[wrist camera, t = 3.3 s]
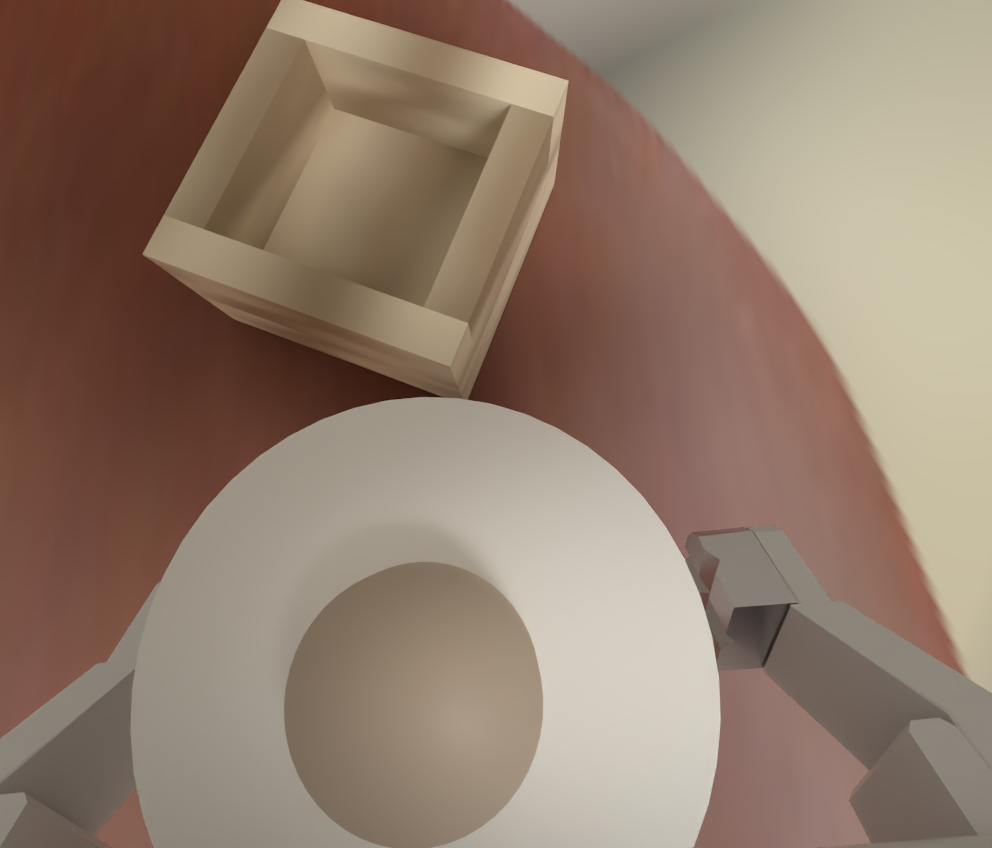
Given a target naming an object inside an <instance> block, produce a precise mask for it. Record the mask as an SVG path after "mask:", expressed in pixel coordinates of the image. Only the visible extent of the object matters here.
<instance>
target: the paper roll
mask: <svg viewBox="0 0 992 848" xmlns="http://www.w3.org/2000/svg"><path fill="white" fill-rule="evenodd" d="M720 721H721V718H720V693H719V675H718V669H717V663H716V657H715V651H714V644H713V638H712V634H711V630H710V627H709V624H708V620H707V617H706V613H705V610H704V606H703V603H702V599H701V596H700V594H699V592H698V589H697V587H696V585H695V582H694V580H693V578H692V575H691V573H690V571H689V568H688V566H687V564H686V561H685V559H684V558H683V556H682V554H681V552H680V551H679V549H678V547H677V546H676V544H675V542H674V540H673V539H672V537H671V535H670V533H669V532H668V530H667V528H666V527H665V525H664V524H663V523H662V521H661V520H660V519H659V517H658V516H657V515H656V513H655V512H654V511H653V509H652V508H651V507H650V505H649V504H648V503H647V502H646V500H645V499H644V498H643V496H642V495H641V494H640V493H639V492H638V491H637V490H636V489H635V488H634V487H633V486H632V485H631V484H630V483H629V482H628V481H627V480H626V479H625V478H624V477H623V476H622V475H621V474H620V473H619V472H618V471H617V470H616V469H615V468H614V467H613V466H611V465H610V464H609V463H608V462H606V461H605V460H604V459H603V458H601V457H600V456H599V455H598V454H596V453H595V452H594V451H593V450H591V449H590V448H589V447H587V446H586V445H584V444H583V443H581V442H579V441H578V440H576V439H574V438H573V437H571V436H569V435H568V434H566V433H564V432H563V431H561V430H559V429H558V428H556V427H554V426H551V425H549V424H547V423H545V422H542V421H540V420H538V419H536V418H533V417H531V416H529V415H527V414H524V413H521V412H517V411H514V410H511V409H507V408H504V407H501V406H497V405H494V404H490V403H484V402H478V401H472V400H465V399H459V398H438V397H417V398H406V399H396V400H387V401H382V402H378V403H374V404H369V405H365V406H360V407H356V408H352V409H349V410H347V411H344V412H341V413H338V414H336V415H333V416H330V417H327V418H325V419H322V420H320V421H318V422H316V423H314V424H312V425H310V426H308V427H306V428H304V429H302V430H300V431H298V432H296V433H294V434H292V435H290V436H288V437H287V438H285V439H284V440H282V441H281V442H279V443H278V444H276V445H275V446H273V447H272V448H270V449H269V450H267V451H266V452H265V453H263V454H262V455H260V456H259V457H257V458H256V459H255V460H254V461H253V462H252V463H251V464H249V465H248V466H247V467H246V468H245V469H244V470H242V471H241V472H240V473H239V474H238V475H237V476H235V477H234V478H233V479H232V480H231V481H230V482H229V483H228V484H227V485H226V486H225V487H224V489H223V490H222V491H221V492H220V493H219V494H218V495H217V496H216V497H215V498H214V500H213V501H212V502H211V503H210V504H209V505H208V506H207V507H206V508H205V510H204V511H203V513H202V514H201V515H200V517H199V518H198V520H197V521H196V522H195V524H194V525H193V527H192V528H191V529H190V531H189V532H188V533H187V535H186V536H185V538H184V539H183V541H182V543H181V544H180V546H179V548H178V550H177V552H176V553H175V555H174V557H173V559H172V561H171V562H170V564H169V566H168V568H167V570H166V572H165V573H164V576H163V578H162V581H161V583H160V585H159V588H158V590H157V593H156V595H155V598H154V600H153V602H152V605H151V607H150V610H149V613H148V617H147V620H146V624H145V627H144V631H143V635H142V638H141V642H140V645H139V649H138V655H137V661H136V668H135V674H134V680H133V686H132V702H131V727H130V733H131V746H132V758H133V771H134V777H135V782H136V787H137V792H138V796H139V801H140V806H141V811H142V815H143V818H144V821H145V824H146V827H147V830H148V833H149V836H150V839H151V842H152V845H153V848H694V845H695V842H696V839H697V836H698V834H699V831H700V828H701V825H702V822H703V819H704V816H705V813H706V810H707V808H708V804H709V799H710V794H711V789H712V785H713V780H714V775H715V770H716V766H717V757H718V745H719V733H720Z"/></svg>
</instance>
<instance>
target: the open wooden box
mask: <svg viewBox="0 0 992 848" xmlns="http://www.w3.org/2000/svg"><path fill="white" fill-rule="evenodd" d="M567 88H568V80H564V79H561V78H558V77H554V76H551V75H548V74H545V73H541V72H538V71H535V70H531V69H528V68H525V67H521V66H518V65H515V64H512V63H508V62H505V61H502V60H498V59H495V58H492V57H488V56H485V55H482V54H479V53H475V52H472V51H469V50H465V49H462V48H459V47H455V46H452V45H449V44H445V43H442V42H439V41H436V40H432V39H429V38H426V37H422V36H419V35H416V34H412V33H409V32H406V31H403V30H399V29H396V28H393V27H389V26H386V25H383V24H379V23H376V22H373V21H370V20H366V19H363V18H360V17H356V16H353V15H350V14H346V13H343V12H340V11H337V10H333V9H330V8H327V7H323V6H320V5H317V4H313V3H310V2H307V1H304V0H281V2H280V3H279V5H278V7H277V9H276V11H275V13H274V14H273V16H272V18H271V20H270V22H269V24H268V25H267V27H266V29H265V31H264V33H263V35H262V36H261V38H260V40H259V42H258V44H257V45H256V47H255V49H254V51H253V53H252V55H251V56H250V58H249V60H248V62H247V64H246V66H245V67H244V69H243V71H242V73H241V75H240V77H239V78H238V80H237V82H236V84H235V86H234V88H233V89H232V91H231V93H230V95H229V97H228V99H227V100H226V102H225V104H224V106H223V108H222V109H221V111H220V113H219V115H218V117H217V119H216V120H215V122H214V124H213V126H212V128H211V130H210V131H209V133H208V135H207V137H206V139H205V141H204V142H203V144H202V146H201V148H200V150H199V152H198V153H197V155H196V157H195V159H194V161H193V162H192V164H191V166H190V168H189V170H188V172H187V173H186V175H185V177H184V179H183V181H182V183H181V184H180V186H179V188H178V190H177V192H176V194H175V195H174V197H173V199H172V201H171V203H170V205H169V206H168V208H167V210H166V212H165V214H164V215H163V217H162V219H161V221H160V223H159V225H158V226H157V228H156V230H155V232H154V234H153V236H152V237H151V239H150V241H149V243H148V245H147V247H146V248H145V250H144V252H143V254H142V255H144V256H145V257H147V258H148V259H149V260H151V261H152V262H154V263H155V264H157V265H158V266H159V267H161V268H162V269H164V270H165V271H166V272H168V273H169V274H171V275H172V276H173V277H175V278H176V279H178V280H179V281H181V282H182V283H183V284H185V285H186V286H188V287H189V288H190V289H192V290H193V291H195V292H196V293H197V294H199V295H200V296H202V297H203V298H205V299H206V300H207V301H209V302H210V303H212V304H213V305H214V306H216V307H217V308H219V309H220V310H221V311H223V312H224V313H226V314H227V315H229V316H230V317H231V318H233V319H234V320H237V321H240V322H242V323H245V324H248V325H251V326H253V327H256V328H259V329H261V330H264V331H267V332H269V333H272V334H275V335H277V336H280V337H283V338H286V339H288V340H291V341H294V342H296V343H299V344H302V345H304V346H307V347H310V348H312V349H315V350H318V351H321V352H323V353H326V354H329V355H331V356H334V357H337V358H339V359H342V360H345V361H347V362H350V363H353V364H356V365H358V366H361V367H364V368H366V369H369V370H372V371H374V372H377V373H380V374H382V375H385V376H388V377H391V378H393V379H396V380H399V381H401V382H404V383H407V384H409V385H412V386H415V387H417V388H420V389H423V390H426V391H428V392H431V393H434V394H436V395H439V396H442V397H444V398H459V399H465V400H468V398H469V395H470V393H471V390H472V388H473V385H474V383H475V380H476V378H477V375H478V373H479V370H480V368H481V365H482V363H483V360H484V358H485V356H486V353H487V351H488V348H489V346H490V343H491V341H492V338H493V336H494V333H495V331H496V328H497V326H498V323H499V321H500V318H501V316H502V313H503V311H504V308H505V306H506V303H507V301H508V298H509V296H510V293H511V291H512V288H513V286H514V283H515V281H516V278H517V276H518V274H519V271H520V269H521V266H522V264H523V261H524V259H525V256H526V254H527V251H528V249H529V246H530V244H531V241H532V239H533V236H534V234H535V231H536V229H537V226H538V224H539V221H540V219H541V216H542V214H543V211H544V209H545V206H546V204H547V201H548V199H549V197H550V194H551V192H552V189H553V187H554V182H555V174H556V167H557V160H558V153H559V146H560V138H561V131H562V124H563V117H564V110H565V102H566V95H567Z"/></svg>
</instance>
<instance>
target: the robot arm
mask: <svg viewBox="0 0 992 848" xmlns="http://www.w3.org/2000/svg"><path fill="white" fill-rule="evenodd" d="M685 547H686V549H687V551H688V553H689V557H688V558H687V559H686V560H685V561H686V564H687V566H688V568H689V571H690V573H691V575H692V578H693V580H694V582H695V585H696V587H697V589H698V592H699V594H700V596H701V599H702V603H703V606H704V610H705V613H706V617H707V620H708V624H709V627H710V630H711V634H712V638H713V644H714V651H715V657H716V663H717V669H718V671H719V670H737V669H756V668H764V669H763V671H764V672H765V673H766V674H767V675H768V676H769V677H770V678H771V679H772V680H773V681H774V682H775V683H777V684H778V685H779V686H780V687H781V688H782V689H783V690H784V691H785V692H786V693H787V694H788V695H789V696H791V697H792V698H793V699H794V700H795V701H796V702H797V703H798V704H799V705H800V706H801V707H802V708H803V709H804V710H806V711H807V712H808V713H809V714H810V715H811V716H812V717H813V718H814V719H815V720H816V721H817V722H818V723H819V724H821V725H822V726H823V727H824V728H825V729H826V730H827V731H828V732H829V733H830V734H831V735H832V736H833V737H835V738H836V739H837V740H838V741H839V742H840V743H841V744H842V745H843V746H844V747H845V748H846V749H847V750H848V751H850V752H851V753H852V754H853V755H854V756H855V757H856V758H857V759H858V760H859V761H860V762H861V763H862V764H863V765H865V766H866V767H867V768H868V769H869V771H868V773H867V774H866V775H865V776H864V777H863V779H862V780H861V781H860V782H859V784H858V785H857V786H856V787H855V788H854V790H853V791H852V794H851V797H850V799H849V801H850V803H851V805H852V807H853V809H854V811H855V812H856V814H857V816H858V818H859V820H860V822H861V824H862V826H863V828H864V830H865V832H866V834H867V836H868V837H869V839H870V841H871V843H869V844H856V845H843V846H831V847H818V848H992V693H990V692H989V691H987V690H985V689H984V688H982V687H981V686H979V685H977V684H976V683H974V682H973V681H971V680H969V679H968V678H966V677H964V676H963V675H961V674H960V673H958V672H956V671H955V670H953V669H952V668H950V667H948V666H947V665H945V664H943V663H942V662H940V661H939V660H937V659H935V658H934V657H932V656H930V655H929V654H927V653H926V652H924V651H922V650H921V649H919V648H918V647H916V646H914V645H913V644H911V643H909V642H908V641H906V640H905V639H903V638H901V637H900V636H898V635H896V634H895V633H893V632H892V631H890V630H888V629H887V628H885V627H884V626H882V625H880V624H879V623H877V622H875V621H874V620H872V619H871V618H869V617H867V616H866V615H864V614H862V613H861V612H859V611H858V610H856V609H854V608H853V607H851V606H850V605H848V604H846V603H845V602H843V601H832V600H831V598H830V597H829V595H828V594H827V593H826V591H825V590H824V588H823V587H822V586H821V584H820V583H819V581H818V580H817V579H816V577H815V576H814V574H813V573H812V572H811V570H810V569H809V567H808V566H807V565H806V563H805V562H804V561H803V559H802V558H801V556H800V555H799V554H798V552H797V551H796V549H795V548H794V547H793V545H792V544H791V542H790V541H789V540H788V538H787V537H786V535H785V534H784V533H783V531H782V530H781V529H780V528H779V527H777V526H776V525H769V526H758V527H747V528H743V527H742V528H732V529H722V530H712V531H701V532H691V533H690V535H689V536H688V537H687V542H686V546H685ZM160 583H161V581H160V582H159V583H157V584H156V586H155V587H154V589H153V590H152V592H151V593H150V595H149V597H148V598H147V600H146V601H145V603H144V604H143V606H142V607H141V609H140V611H139V612H138V614H137V615H136V617H135V618H134V620H133V621H132V623H131V625H130V626H129V628H128V629H127V631H126V632H125V634H124V635H123V637H122V639H121V640H120V642H119V643H118V645H117V646H116V648H115V649H114V651H113V653H112V654H111V656H110V657H109V659H108V660H107V662H106V663H97V664H96V665H95V666H93V667H92V668H91V669H90V670H88V671H87V672H86V673H84V674H83V675H82V676H80V677H79V678H78V679H77V680H75V681H74V682H73V683H71V684H70V685H69V686H68V687H66V688H65V689H64V690H62V691H61V692H60V693H59V694H57V695H56V696H55V697H53V698H52V699H51V700H50V701H48V702H47V703H46V704H44V705H43V706H42V707H40V708H39V709H38V710H37V711H35V712H34V713H33V714H31V715H30V716H29V717H28V718H26V719H25V720H24V721H22V722H21V723H20V724H19V725H17V726H16V727H15V728H13V729H12V730H11V731H10V732H8V733H7V734H6V735H4V736H3V737H2V738H0V848H112V847H110V846H109V845H107V844H106V843H104V842H102V841H101V840H99V839H98V838H96V837H94V836H95V835H96V834H97V832H98V831H99V830H100V829H101V828H102V827H103V826H104V824H105V823H106V822H107V821H108V820H109V819H110V818H111V816H112V815H113V814H114V813H115V812H116V811H117V810H118V808H119V807H120V806H121V805H122V804H123V803H124V801H125V800H126V799H127V798H128V797H129V796H130V795H131V793H132V792H133V791H134V790H135V789H136V788H137V787H136V782H135V777H134V771H133V758H132V746H131V733H130V727H131V702H132V686H133V680H134V674H135V668H136V661H137V655H138V649H139V645H140V642H141V638H142V635H143V631H144V627H145V624H146V620H147V617H148V613H149V610H150V607H151V605H152V602H153V600H154V598H155V595H156V593H157V590H158V588H159V585H160Z"/></svg>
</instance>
